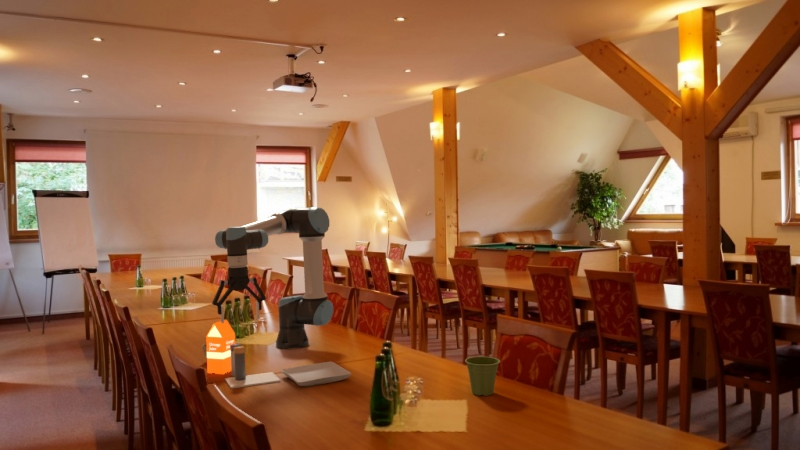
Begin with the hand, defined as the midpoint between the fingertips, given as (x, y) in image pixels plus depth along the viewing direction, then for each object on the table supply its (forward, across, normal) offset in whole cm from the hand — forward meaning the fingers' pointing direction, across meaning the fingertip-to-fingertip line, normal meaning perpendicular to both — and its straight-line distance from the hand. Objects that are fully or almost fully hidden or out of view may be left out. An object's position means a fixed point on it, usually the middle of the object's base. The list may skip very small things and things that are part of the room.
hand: (240, 320), depth 244 cm
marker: (+20, -3, -9) cm, 22 cm away
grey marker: (+21, -3, -1) cm, 21 cm away
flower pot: (+22, -6, +28) cm, 35 cm away
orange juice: (+21, -6, +10) cm, 24 cm away
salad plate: (+22, +23, -21) cm, 38 cm away
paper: (+21, +1, -12) cm, 24 cm away
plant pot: (+22, +67, -68) cm, 98 cm away
